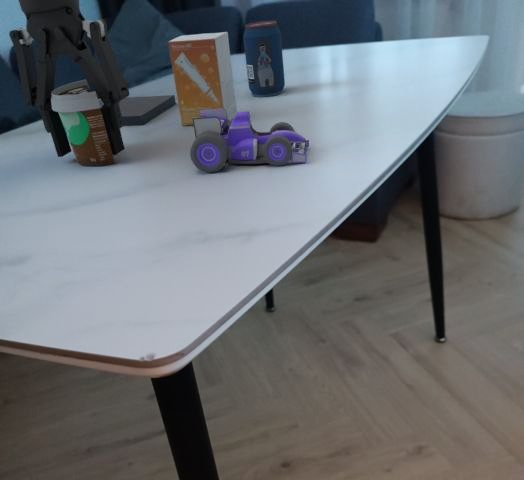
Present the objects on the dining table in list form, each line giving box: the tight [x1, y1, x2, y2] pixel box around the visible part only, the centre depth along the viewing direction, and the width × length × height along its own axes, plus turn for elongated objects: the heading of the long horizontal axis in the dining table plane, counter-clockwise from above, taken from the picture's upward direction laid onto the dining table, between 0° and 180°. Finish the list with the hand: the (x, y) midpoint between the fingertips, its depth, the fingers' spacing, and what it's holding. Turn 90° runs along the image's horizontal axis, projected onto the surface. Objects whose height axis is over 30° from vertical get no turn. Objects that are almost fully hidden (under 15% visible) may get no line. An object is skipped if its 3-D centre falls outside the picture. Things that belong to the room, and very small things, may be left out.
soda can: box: [243, 20, 286, 98], centre depth 112 cm, size 7×7×12 cm
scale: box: [98, 94, 177, 127], centre depth 111 cm, size 17×15×4 cm
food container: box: [51, 78, 116, 167], centre depth 87 cm, size 12×6×10 cm, turn 20°
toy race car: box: [189, 108, 310, 174], centre depth 80 cm, size 10×15×6 cm, turn 83°
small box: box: [167, 31, 238, 127], centre depth 98 cm, size 8×6×13 cm
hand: (91, 152), depth 89 cm, fingers closed on food container, 8 cm apart
